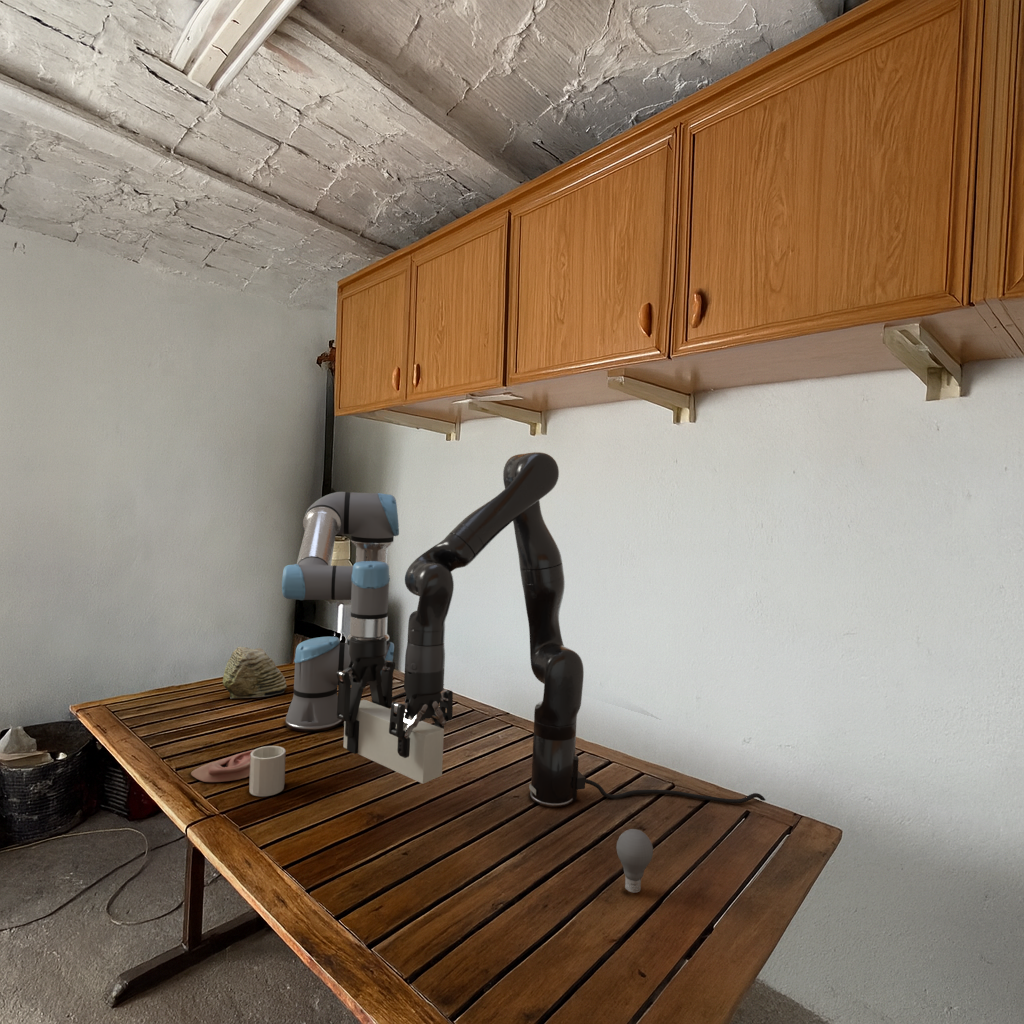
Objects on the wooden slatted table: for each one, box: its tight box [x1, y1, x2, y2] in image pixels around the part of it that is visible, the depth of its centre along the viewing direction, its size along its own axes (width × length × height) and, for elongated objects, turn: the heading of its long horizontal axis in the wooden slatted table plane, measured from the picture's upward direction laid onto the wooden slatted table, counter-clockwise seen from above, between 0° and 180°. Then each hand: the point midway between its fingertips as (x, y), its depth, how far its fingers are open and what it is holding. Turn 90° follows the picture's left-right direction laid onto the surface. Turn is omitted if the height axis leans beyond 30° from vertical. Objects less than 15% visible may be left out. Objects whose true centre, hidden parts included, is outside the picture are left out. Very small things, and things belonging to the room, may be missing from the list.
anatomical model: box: [190, 749, 254, 783], centre depth 143 cm, size 13×4×12 cm
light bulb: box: [615, 828, 654, 894], centre depth 106 cm, size 6×6×10 cm
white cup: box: [248, 745, 287, 797], centre depth 136 cm, size 7×7×8 cm
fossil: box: [222, 646, 288, 699], centre depth 198 cm, size 9×18×15 cm, turn 132°
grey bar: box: [343, 699, 445, 785], centre depth 126 cm, size 24×5×9 cm, turn 51°
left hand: (363, 747), depth 132 cm, fingers closed on grey bar, 5 cm apart
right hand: (420, 750), depth 121 cm, fingers open, 8 cm apart
